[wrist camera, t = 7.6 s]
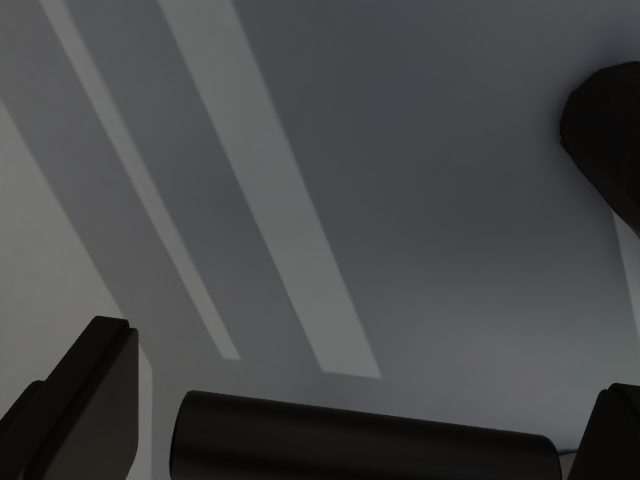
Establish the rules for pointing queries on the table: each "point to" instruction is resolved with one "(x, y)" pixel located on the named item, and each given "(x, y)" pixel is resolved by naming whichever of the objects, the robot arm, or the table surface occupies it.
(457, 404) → the table surface
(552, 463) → the lever
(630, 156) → the film camera
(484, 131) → the table surface
